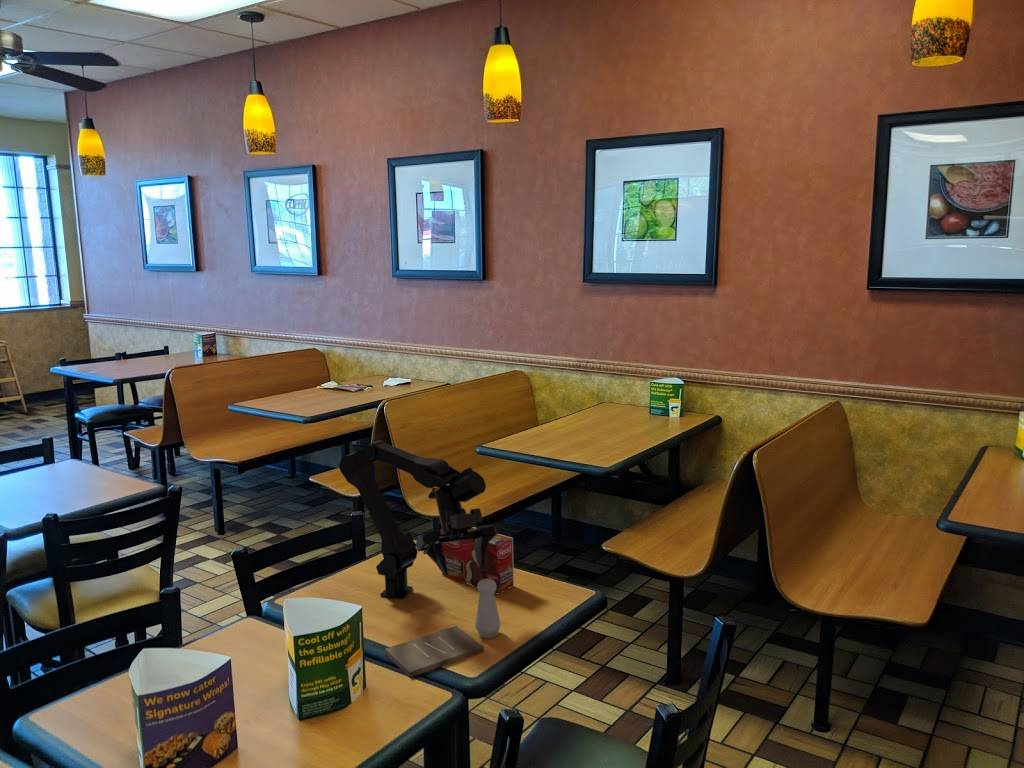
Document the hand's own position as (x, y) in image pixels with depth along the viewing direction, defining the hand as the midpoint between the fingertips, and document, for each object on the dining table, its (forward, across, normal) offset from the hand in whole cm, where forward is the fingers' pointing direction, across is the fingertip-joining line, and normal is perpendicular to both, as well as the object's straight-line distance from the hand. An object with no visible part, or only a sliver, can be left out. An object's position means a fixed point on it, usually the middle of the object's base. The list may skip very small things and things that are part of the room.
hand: (464, 572), depth 181 cm
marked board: (+16, -10, +3) cm, 19 cm away
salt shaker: (+14, +4, +3) cm, 15 cm away
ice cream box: (-3, +14, +25) cm, 29 cm away
